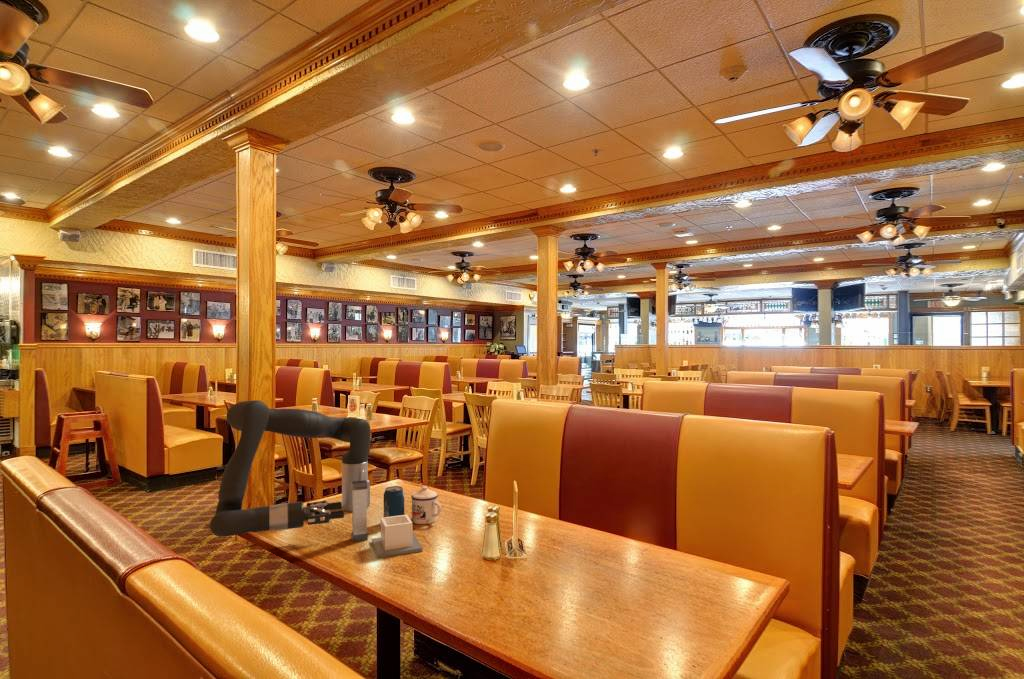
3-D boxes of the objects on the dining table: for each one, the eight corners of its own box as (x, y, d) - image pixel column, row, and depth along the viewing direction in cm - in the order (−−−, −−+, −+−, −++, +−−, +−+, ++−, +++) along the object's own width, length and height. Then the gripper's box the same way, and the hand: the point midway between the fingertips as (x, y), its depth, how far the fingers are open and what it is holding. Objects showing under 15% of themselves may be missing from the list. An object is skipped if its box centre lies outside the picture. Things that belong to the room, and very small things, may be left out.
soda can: (406, 520, 188) (406, 485, 188) (400, 527, 181) (400, 491, 181) (387, 519, 189) (387, 485, 189) (380, 526, 182) (380, 491, 182)
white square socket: (371, 541, 169) (371, 516, 169) (413, 536, 174) (413, 511, 173) (377, 558, 157) (377, 530, 157) (422, 551, 162) (422, 524, 161)
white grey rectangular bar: (351, 538, 172) (351, 481, 171) (366, 536, 173) (366, 480, 173) (352, 541, 169) (352, 484, 169) (367, 539, 170) (367, 482, 170)
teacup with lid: (405, 521, 187) (405, 487, 187) (424, 514, 195) (424, 481, 194) (431, 528, 180) (431, 493, 180) (449, 520, 188) (449, 487, 188)
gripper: (286, 510, 156) (344, 504, 162) (286, 496, 169) (340, 491, 176) (286, 536, 156) (345, 529, 163) (286, 520, 170) (341, 514, 176)
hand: (342, 509), depth 169 cm, fingers open, 8 cm apart
